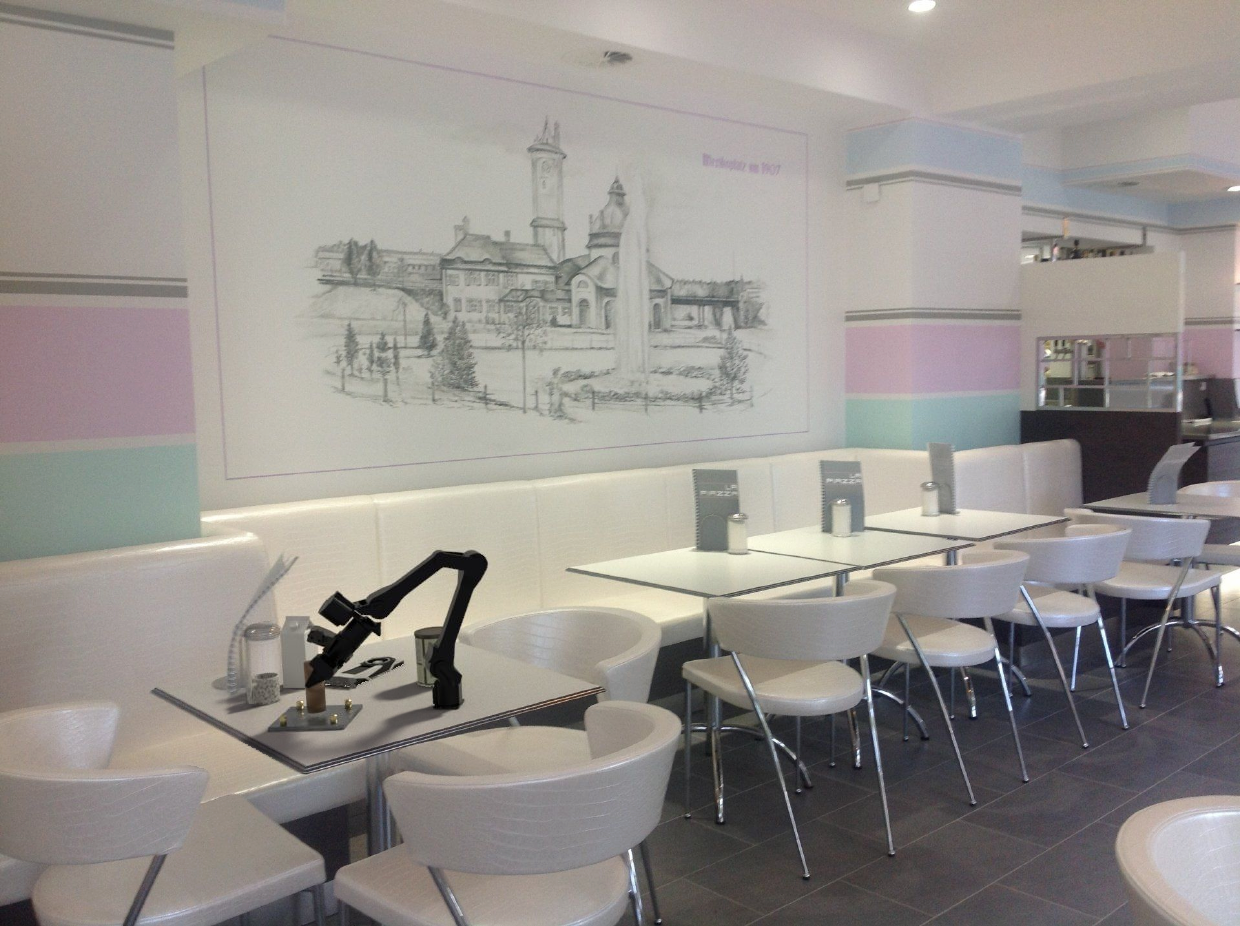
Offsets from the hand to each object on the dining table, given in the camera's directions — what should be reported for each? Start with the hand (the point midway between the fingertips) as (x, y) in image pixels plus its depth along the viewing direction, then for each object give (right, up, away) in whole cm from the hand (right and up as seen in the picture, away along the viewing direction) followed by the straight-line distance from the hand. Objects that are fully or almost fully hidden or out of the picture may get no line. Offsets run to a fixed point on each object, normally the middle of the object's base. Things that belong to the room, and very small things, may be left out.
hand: (309, 684), depth 255 cm
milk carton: (-11, -7, +32) cm, 35 cm away
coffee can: (+26, -6, +29) cm, 39 cm away
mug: (-17, -9, +16) cm, 25 cm away
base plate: (+2, -9, +1) cm, 9 cm away
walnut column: (+2, -7, 0) cm, 7 cm away
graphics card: (+5, -6, +39) cm, 40 cm away
